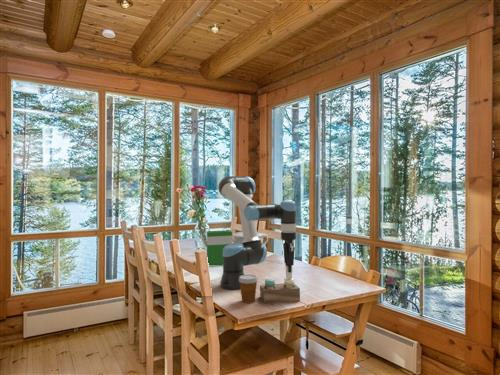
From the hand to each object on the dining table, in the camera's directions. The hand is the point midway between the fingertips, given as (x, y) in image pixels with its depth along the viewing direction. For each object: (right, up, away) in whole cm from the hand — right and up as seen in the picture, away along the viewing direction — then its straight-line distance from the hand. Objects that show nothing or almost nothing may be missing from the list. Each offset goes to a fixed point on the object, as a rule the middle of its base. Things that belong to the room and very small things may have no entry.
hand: (289, 278), depth 173 cm
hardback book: (-42, -10, +76) cm, 87 cm away
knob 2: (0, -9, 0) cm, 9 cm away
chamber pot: (-21, -10, +110) cm, 113 cm away
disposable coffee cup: (-21, -11, -4) cm, 23 cm away
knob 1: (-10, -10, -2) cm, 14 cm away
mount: (-5, -10, -1) cm, 11 cm away
